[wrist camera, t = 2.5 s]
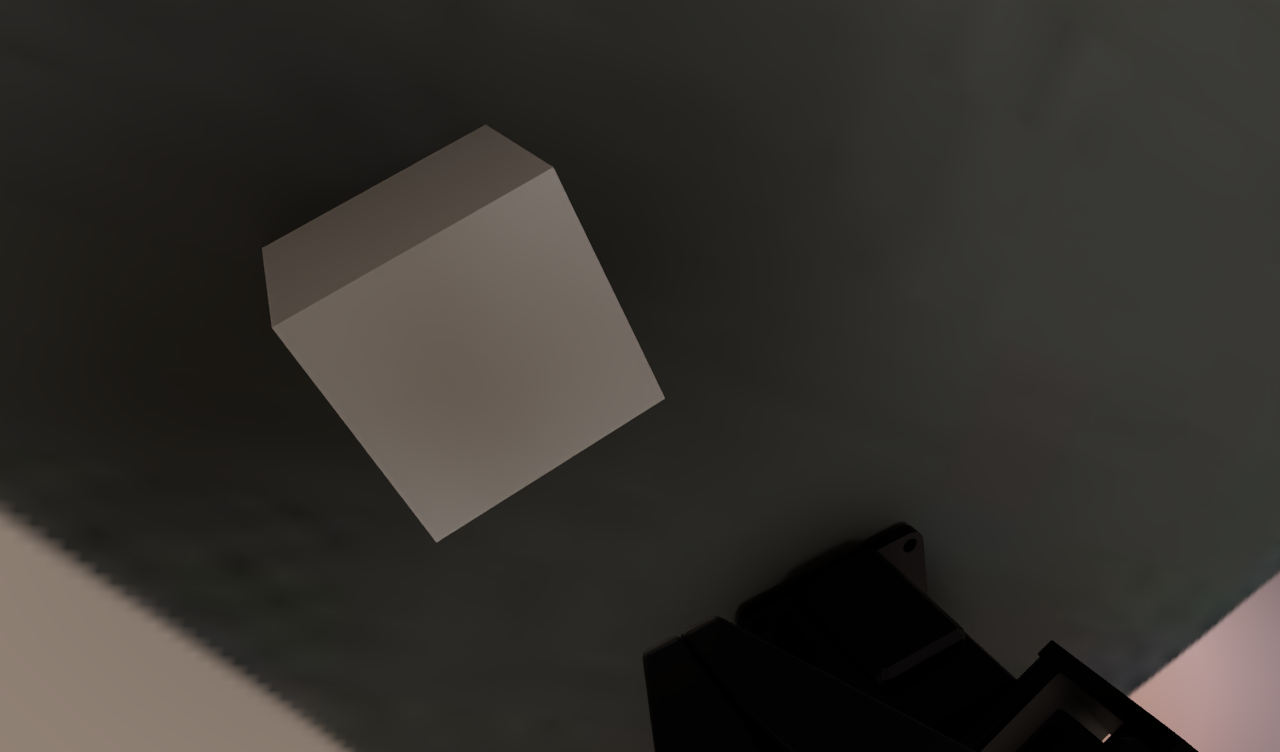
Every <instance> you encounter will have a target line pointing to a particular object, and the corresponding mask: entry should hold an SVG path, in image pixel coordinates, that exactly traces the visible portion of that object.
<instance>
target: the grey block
mask: <svg viewBox="0 0 1280 752" xmlns="http://www.w3.org/2000/svg"><path fill="white" fill-rule="evenodd" d="M262 254H263V262H264V270H265V278H266V286H267V294H268V302H269V309H270V317H271V325H272V329H273V330H274V331H275V332H276V334H277V335H278V336H279V338H280V339H281V340H282V342H283V343H284V344H285V346H286V347H287V348H288V349H289V351H290V352H291V353H292V355H293V356H294V357H295V359H296V360H297V361H298V362H299V364H300V365H301V366H302V368H303V369H304V370H305V372H306V373H307V374H308V376H309V377H310V378H311V379H312V381H313V382H314V383H315V385H316V386H317V387H318V389H319V390H320V391H321V393H322V394H323V395H324V396H325V398H326V399H327V400H328V402H329V403H330V404H331V406H332V407H333V408H334V409H335V411H336V412H337V413H338V415H339V416H340V417H341V419H342V420H343V421H344V423H345V424H346V425H347V426H348V428H349V429H350V430H351V432H352V433H353V434H354V436H355V437H356V438H357V439H358V441H359V442H360V443H361V445H362V446H363V447H364V449H365V450H366V451H367V453H368V454H369V455H370V456H371V458H372V459H373V460H374V462H375V463H376V464H377V466H378V467H379V468H380V469H381V471H382V472H383V473H384V475H385V476H386V477H387V479H388V480H389V481H390V483H391V484H392V485H393V486H394V488H395V489H396V490H397V492H398V493H399V494H400V496H401V497H402V498H403V499H404V501H405V502H406V503H407V505H408V506H409V507H410V509H411V510H412V511H413V513H414V514H415V515H416V516H417V518H418V519H419V520H420V522H421V523H422V524H423V526H424V527H425V528H426V530H427V531H428V532H429V533H430V535H431V536H432V537H433V539H434V540H435V541H436V543H437V542H438V541H440V540H441V539H443V538H445V537H446V536H448V535H449V534H451V533H452V532H454V531H456V530H457V529H459V528H460V527H462V526H464V525H465V524H467V523H468V522H470V521H471V520H473V519H475V518H476V517H478V516H479V515H481V514H483V513H484V512H486V511H487V510H489V509H491V508H492V507H494V506H495V505H497V504H498V503H500V502H502V501H503V500H505V499H506V498H508V497H510V496H511V495H513V494H514V493H516V492H517V491H519V490H521V489H522V488H524V487H525V486H527V485H529V484H530V483H532V482H533V481H535V480H537V479H538V478H540V477H541V476H543V475H544V474H546V473H548V472H549V471H551V470H552V469H554V468H556V467H557V466H559V465H560V464H562V463H563V462H565V461H567V460H568V459H570V458H571V457H573V456H575V455H576V454H578V453H579V452H581V451H583V450H584V449H586V448H587V447H589V446H590V445H592V444H594V443H595V442H597V441H598V440H600V439H602V438H603V437H605V436H606V435H608V434H609V433H611V432H613V431H614V430H616V429H617V428H619V427H621V426H622V425H624V424H625V423H627V422H629V421H630V420H632V419H633V418H635V417H636V416H638V415H640V414H641V413H643V412H644V411H646V410H648V409H649V408H651V407H652V406H654V405H655V404H657V403H659V402H660V401H662V400H663V399H665V397H664V395H663V393H662V391H661V389H660V387H659V385H658V383H657V381H656V378H655V376H654V374H653V372H652V370H651V368H650V366H649V364H648V362H647V360H646V358H645V356H644V354H643V352H642V350H641V347H640V345H639V343H638V341H637V339H636V337H635V335H634V333H633V331H632V329H631V327H630V325H629V323H628V321H627V319H626V316H625V314H624V312H623V310H622V308H621V306H620V304H619V302H618V300H617V298H616V296H615V294H614V292H613V290H612V288H611V285H610V283H609V281H608V279H607V277H606V275H605V273H604V271H603V269H602V267H601V265H600V263H599V261H598V259H597V257H596V254H595V252H594V250H593V248H592V246H591V244H590V242H589V240H588V238H587V236H586V234H585V232H584V230H583V228H582V226H581V223H580V221H579V219H578V217H577V215H576V213H575V211H574V209H573V207H572V205H571V203H570V201H569V199H568V197H567V195H566V192H565V190H564V188H563V186H562V184H561V182H560V180H559V178H558V176H557V174H556V172H555V170H554V168H553V167H552V166H551V165H549V164H547V163H546V162H544V161H543V160H541V159H539V158H538V157H536V156H535V155H533V154H532V153H530V152H528V151H527V150H525V149H524V148H522V147H521V146H519V145H517V144H516V143H514V142H513V141H511V140H509V139H508V138H506V137H505V136H503V135H502V134H500V133H498V132H497V131H495V130H494V129H492V128H490V127H489V126H487V125H486V124H485V125H484V126H482V127H480V128H478V129H476V130H475V131H473V132H471V133H469V134H467V135H466V136H464V137H462V138H460V139H458V140H457V141H455V142H453V143H451V144H449V145H447V146H446V147H444V148H442V149H440V150H438V151H437V152H435V153H433V154H431V155H429V156H428V157H426V158H424V159H422V160H420V161H419V162H417V163H415V164H413V165H411V166H410V167H408V168H406V169H404V170H402V171H400V172H399V173H397V174H395V175H393V176H391V177H390V178H388V179H386V180H384V181H382V182H381V183H379V184H377V185H375V186H373V187H372V188H370V189H368V190H366V191H364V192H363V193H361V194H359V195H357V196H355V197H353V198H352V199H350V200H348V201H346V202H344V203H343V204H341V205H339V206H337V207H335V208H334V209H332V210H330V211H328V212H326V213H325V214H323V215H321V216H319V217H317V218H316V219H314V220H312V221H310V222H308V223H306V224H305V225H303V226H301V227H299V228H297V229H296V230H294V231H292V232H290V233H288V234H287V235H285V236H283V237H281V238H279V239H278V240H276V241H274V242H272V243H270V244H269V245H267V246H265V247H263V248H262Z"/></svg>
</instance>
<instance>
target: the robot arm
mask: <svg viewBox="0 0 1280 752" xmlns="http://www.w3.org/2000/svg"><path fill="white" fill-rule="evenodd" d="M755 620H756V621H755ZM754 621H755V622H754ZM738 624H739V627H738V626H736V625H734V624H732V623H730V622H728V621H727V620H725V619H723V618H721V617H717V616H711V617H709V618H707V619H705V620H703V621H701V622H699V623H697V624H695V625H693V626H691V627H689V628H687V629H685V630H684V631H683V632H682V634H681V638H680V637H678V636H672V637H669V638H667V639H666V640H664V641H662V642H660V643H658V644H656V645H654V646H652V647H650V648H648V649H646V650H645V652H644V653H643V665H644V673H645V680H646V688H647V696H648V703H649V711H650V718H651V726H652V734H653V741H654V749H655V752H1198V751H1197V750H1196V749H1194V748H1193V747H1192V746H1191V745H1190V744H1188V743H1187V742H1186V741H1185V740H1184V739H1182V738H1181V737H1180V736H1178V735H1177V734H1176V733H1175V732H1173V731H1172V730H1171V729H1169V728H1168V727H1167V726H1165V725H1164V724H1163V723H1161V722H1160V721H1159V720H1158V719H1156V718H1155V717H1154V716H1152V715H1151V714H1150V713H1148V712H1147V711H1145V710H1144V709H1143V708H1142V707H1140V706H1139V705H1138V704H1136V703H1135V702H1134V701H1132V700H1131V699H1130V698H1128V697H1127V696H1126V695H1124V694H1123V693H1122V692H1120V691H1119V690H1118V689H1116V688H1115V687H1114V686H1112V685H1111V684H1110V683H1108V682H1107V681H1106V680H1104V679H1103V678H1102V677H1100V676H1099V675H1098V674H1096V673H1095V672H1094V671H1092V670H1091V669H1090V668H1088V667H1087V666H1086V665H1084V664H1083V663H1082V662H1080V661H1079V660H1078V659H1076V658H1075V657H1074V656H1073V655H1071V654H1070V653H1069V652H1067V651H1066V650H1065V649H1063V648H1062V647H1061V646H1059V645H1058V644H1057V643H1055V642H1054V641H1052V640H1051V641H1050V642H1049V643H1048V644H1047V645H1046V646H1045V647H1044V648H1043V649H1042V650H1041V651H1040V652H1039V653H1038V656H1039V658H1038V659H1037V660H1036V661H1035V662H1034V663H1033V664H1032V665H1031V666H1030V667H1029V668H1028V669H1027V670H1026V671H1025V672H1024V673H1023V674H1022V675H1021V676H1020V677H1019V678H1018V679H1016V678H1015V677H1013V676H1012V675H1011V674H1010V673H1009V672H1008V671H1007V670H1006V669H1005V668H1004V667H1003V666H1001V665H1000V664H999V663H998V662H997V661H996V660H995V659H994V658H993V657H992V656H990V655H989V654H988V653H987V652H986V651H985V650H984V649H983V648H982V647H981V646H980V645H978V644H977V643H976V642H975V641H974V640H973V639H972V638H971V637H970V636H969V635H967V634H966V633H965V631H964V630H963V628H962V627H961V626H960V625H959V624H958V623H957V622H955V621H954V620H953V619H952V618H951V617H950V616H949V615H948V614H947V613H946V612H944V611H943V610H942V609H941V608H940V607H939V606H938V605H937V604H936V603H935V602H933V601H932V600H931V599H930V598H929V597H928V596H927V585H926V572H925V559H924V545H923V537H922V535H921V534H920V533H919V532H918V531H917V530H915V529H914V528H913V527H912V526H910V525H904V526H901V527H899V528H897V529H895V530H893V531H891V532H890V533H888V534H886V535H884V536H882V537H880V538H878V539H876V540H874V541H872V542H870V543H868V544H866V545H864V546H862V547H860V548H859V549H857V550H855V551H853V552H851V553H849V554H847V555H845V556H843V557H841V558H839V559H837V560H835V561H833V562H831V563H829V564H827V565H826V566H824V567H822V568H820V569H818V570H816V571H814V572H812V573H810V574H808V575H806V576H804V577H802V578H800V579H798V580H796V581H795V582H793V583H791V584H789V585H787V586H785V587H783V588H781V589H779V590H777V591H775V592H773V593H771V594H769V595H767V596H765V597H763V598H762V599H760V600H758V601H756V602H754V603H752V604H750V605H749V606H747V607H746V608H745V609H744V610H743V611H742V612H741V614H740V616H739V618H738ZM1108 734H1111V736H1110V737H1109V738H1108V739H1107V740H1106V741H1105V742H1104V743H1103V742H1102V740H1103V739H1104V738H1105V737H1106V736H1107V735H1108Z"/></svg>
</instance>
